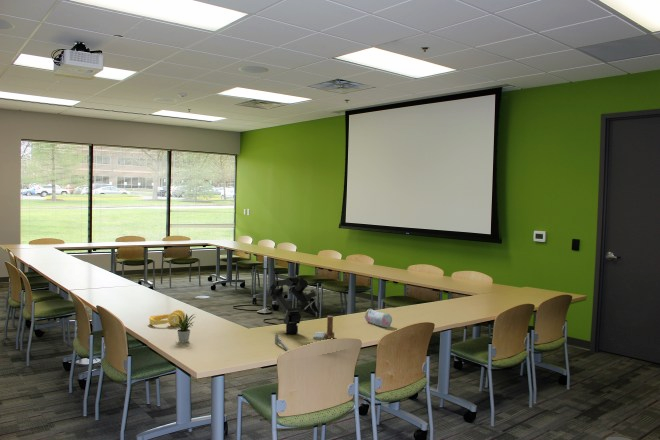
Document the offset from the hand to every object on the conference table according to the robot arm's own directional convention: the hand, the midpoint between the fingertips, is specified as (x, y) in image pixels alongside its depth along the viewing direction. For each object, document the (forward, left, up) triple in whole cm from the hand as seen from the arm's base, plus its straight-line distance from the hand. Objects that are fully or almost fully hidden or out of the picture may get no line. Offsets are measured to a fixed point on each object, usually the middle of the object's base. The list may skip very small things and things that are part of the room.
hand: (317, 314), depth 308 cm
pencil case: (+37, +39, -14) cm, 55 cm away
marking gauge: (+8, -1, -14) cm, 16 cm away
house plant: (-72, -21, -14) cm, 77 cm away
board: (+1, +2, -14) cm, 14 cm away
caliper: (-16, -26, -14) cm, 34 cm away
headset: (-99, +17, -14) cm, 101 cm away
